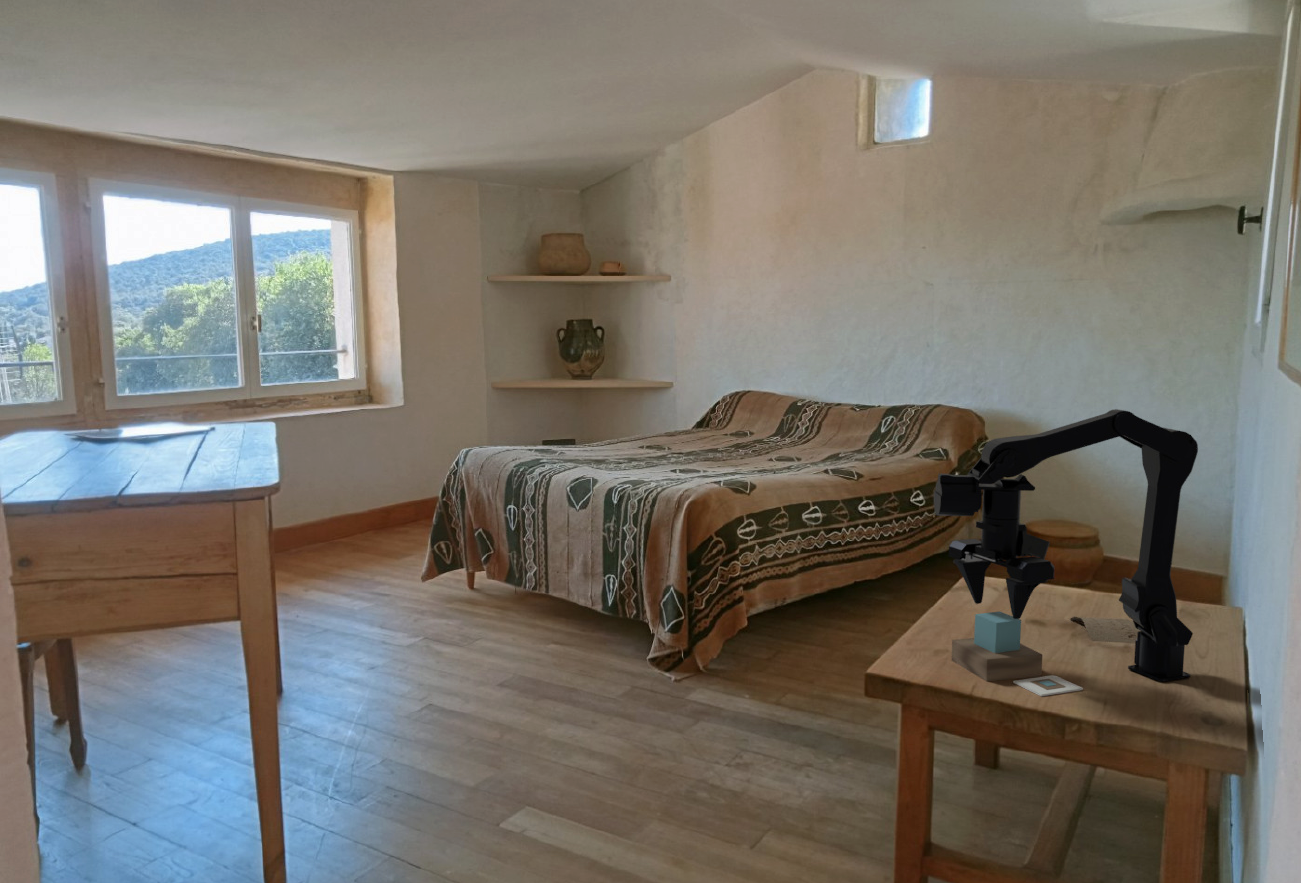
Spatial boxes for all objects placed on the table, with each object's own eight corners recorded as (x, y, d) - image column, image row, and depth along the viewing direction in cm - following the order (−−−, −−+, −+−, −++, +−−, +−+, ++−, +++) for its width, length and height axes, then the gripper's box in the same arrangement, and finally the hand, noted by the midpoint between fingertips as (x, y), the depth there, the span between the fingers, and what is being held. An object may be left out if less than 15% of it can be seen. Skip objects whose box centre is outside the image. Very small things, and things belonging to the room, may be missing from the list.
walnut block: (1041, 678, 147) (1042, 654, 147) (986, 683, 145) (987, 659, 144) (1003, 658, 157) (1004, 635, 156) (951, 662, 155) (952, 639, 154)
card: (1082, 689, 141) (1083, 686, 141) (1041, 696, 138) (1041, 693, 138) (1053, 676, 147) (1054, 673, 147) (1013, 682, 144) (1013, 679, 144)
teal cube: (1019, 649, 149) (1021, 619, 149) (995, 653, 147) (996, 623, 147) (998, 640, 154) (999, 611, 153) (973, 643, 152) (975, 614, 151)
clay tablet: (1067, 622, 178) (1068, 608, 178) (1122, 624, 176) (1123, 610, 176) (1092, 646, 164) (1093, 631, 163) (1153, 648, 162) (1153, 634, 162)
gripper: (1084, 524, 142) (1079, 622, 144) (1001, 504, 160) (998, 592, 161) (1026, 528, 138) (1022, 629, 140) (948, 508, 156) (945, 597, 158)
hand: (996, 610), depth 150 cm, fingers open, 9 cm apart
